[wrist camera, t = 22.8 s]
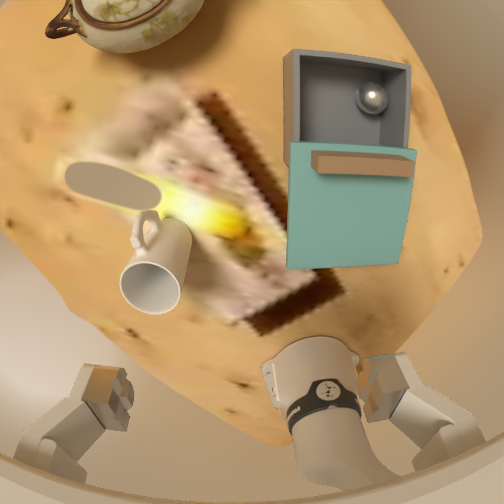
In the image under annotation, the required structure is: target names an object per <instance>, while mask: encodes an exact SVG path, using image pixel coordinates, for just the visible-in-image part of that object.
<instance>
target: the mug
mask: <svg viewBox="0 0 504 504" xmlns="http://www.w3.org/2000/svg"><path fill="white" fill-rule="evenodd" d="M145 220H147V221H148V222H149V224H150V227H151V228H150V229H149V231H148V232H147V233H146V235H145V237H144V238H143V223H144V221H145ZM130 242H131V244H132V246H133V247H134V248H135V249H136V251H135V252H134V254H133V255H132V257H131V259H130V260H129V262H128V263H127V265H126V267H125V269H124V270H123V272H122V274H121V276H120V289H121V292H122V295H123V296H124V298H125V299H126V301H127V302H128V303H129V304H130V305H131V306H133V307H134V308H136V309H137V310H139V311H141V312H144V313H147V314H153V315H159V314H165V313H167V312H169V311H171V310H173V309H174V308H175V307H176V306H177V304H178V303H179V300H180V297H181V292H182V288H183V284H184V279H185V274H186V270H187V265H188V260H189V256H190V252H191V246H192V235H191V232H190V230H189V229H188V227H187V226H186V225H185V224H184V223H182V222H181V221H179V220H176V219H173V218H164V219H161V220H160V218H159V215H158V213H157V211H155V210H146V211H142V212H140V213H139V214H138V215H137V217H136V219H135V222H134V225H133V230H132V235H131V238H130Z"/></svg>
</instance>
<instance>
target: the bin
mask: <svg viewBox="0 0 504 504" xmlns="http://www.w3.org/2000/svg"><path fill="white" fill-rule="evenodd" d="M366 82H375V83H378V84H379V85H381V86H382V87H383V88H384V89H385V90H386V92H387V94H388V99H389V100H388V105H387V107H386V108H385V110H384V111H382V112H381V113H378V114H369V113H366V112H364V111H363V110H362V109H361V108H360V107H359V106H358V104H357V102H356V97H355V96H356V91H357V89H358V87H359V86H360V85H362V84H363V83H366ZM283 87H284V162H285V163H286V165H287V166H288V168H289V141H306V142H335V143H354V144H368V145H380V146H391V147H401V148H408V136H409V122H410V102H411V66H410V65H406V64H402V63H397V62H392V61H387V60H382V59H377V58H371V57H365V56H358V55H351V54H344V53H336V52H326V51H315V50H302V49H293V50H291V51H290V52H289V53H288V54H287V55H286V56H284V57H283Z"/></svg>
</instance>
